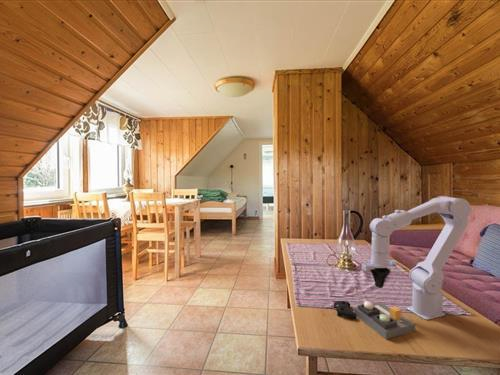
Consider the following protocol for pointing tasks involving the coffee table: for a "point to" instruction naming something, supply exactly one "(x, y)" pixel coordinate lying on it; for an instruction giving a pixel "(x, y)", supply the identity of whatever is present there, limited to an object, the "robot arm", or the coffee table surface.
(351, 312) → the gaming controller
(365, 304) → the white button
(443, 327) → the coffee table surface
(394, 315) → the slider knob
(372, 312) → the control panel
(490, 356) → the coffee table surface
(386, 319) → the green button
